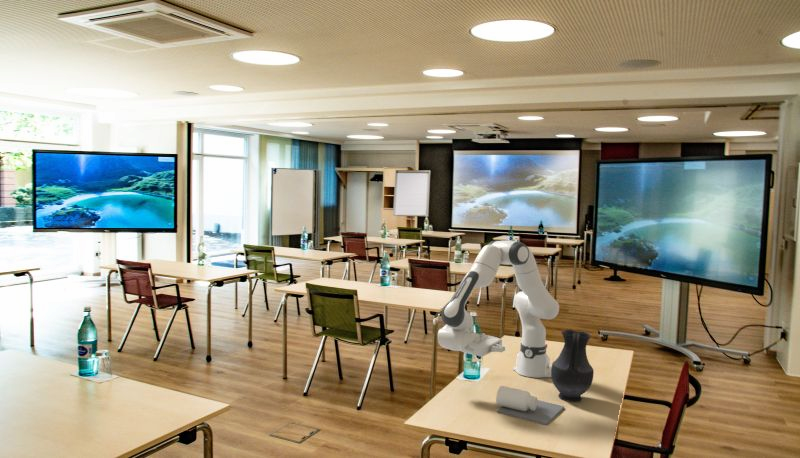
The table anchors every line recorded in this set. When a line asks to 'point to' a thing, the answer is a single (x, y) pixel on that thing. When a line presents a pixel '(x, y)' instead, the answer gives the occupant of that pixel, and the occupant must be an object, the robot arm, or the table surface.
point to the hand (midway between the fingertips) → (503, 349)
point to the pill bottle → (515, 399)
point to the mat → (535, 412)
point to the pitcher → (572, 367)
